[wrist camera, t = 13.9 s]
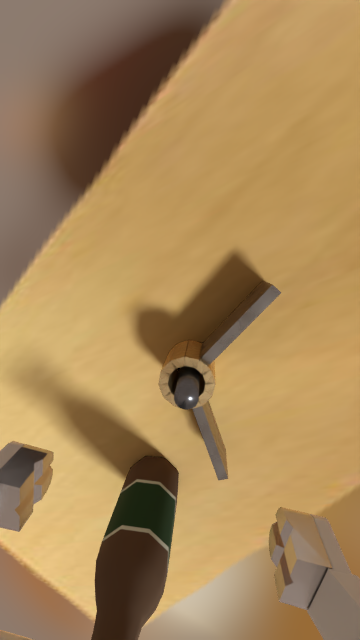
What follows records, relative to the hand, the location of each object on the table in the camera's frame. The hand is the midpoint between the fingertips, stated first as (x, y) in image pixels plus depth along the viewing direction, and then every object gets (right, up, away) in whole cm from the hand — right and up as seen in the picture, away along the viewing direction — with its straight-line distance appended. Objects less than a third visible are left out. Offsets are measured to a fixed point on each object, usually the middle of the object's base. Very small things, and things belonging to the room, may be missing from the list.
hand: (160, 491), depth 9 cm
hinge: (+7, 0, +25) cm, 26 cm away
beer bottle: (-3, -17, +30) cm, 35 cm away
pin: (+2, 0, +25) cm, 25 cm away
